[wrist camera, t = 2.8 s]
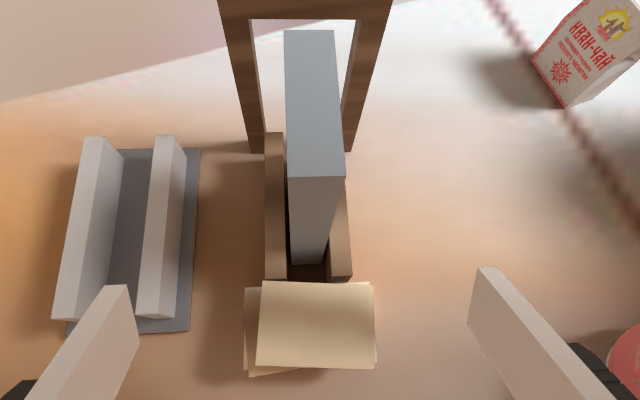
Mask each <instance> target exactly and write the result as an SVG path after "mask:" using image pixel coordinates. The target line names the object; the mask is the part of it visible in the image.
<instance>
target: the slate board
mask: <svg viewBox="0 0 640 400" xmlns="http://www.w3.org/2000/svg"><path fill="white" fill-rule="evenodd" d="M284 67H285V105H286V143H287V179H288V200H289V220H290V241H291V261H292V265H294V264H317V263H321V261H322V257H323V254H324V251H325V247H326V244H327V240H328V237H329V233H330V230H331V226H332V223H333V220H334V216H335V213H336V209H337V206H338V202H339V199H340V195H341V192H342V189H343V185H344V182H345V178H346V167H345V156H344V144H343V132H342V121H341V109H340V98H339V86H338V74H337V63H336V51H335V39H334V30H284Z"/></svg>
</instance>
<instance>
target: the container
mask: <svg viewBox="0 0 640 400" xmlns="http://www.w3.org/2000/svg"><path fill="white" fill-rule="evenodd" d="M606 366H607V367H608V369H609V371H610V372H612V373H613V374H614V375H615V376H616V377H617V378H618V379H619V380H620V383H621V384H624V385H625V386H626V387H627V388H628V389H629V390H630V391H631V393H632V394H633V395H634V396H635V397H636V398H637V399H638V400H640V322H639V323H637V324H636V325H634V326H632V327H631V328H629V329H628V330H627V331H625V332H624V333H623V334H622V335H621V336H620V337H619V338H618V339H617V340H616V342H615V344H614V345H613V346H612V347H611V349H610V351H609V353H608V355H607V359H606Z"/></svg>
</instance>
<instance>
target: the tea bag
mask: <svg viewBox="0 0 640 400" xmlns="http://www.w3.org/2000/svg"><path fill="white" fill-rule="evenodd" d="M639 59H640V6H639V5H638V4H637V3H636V2H635V0H584V1H582V2H581V3H580V4H579V5H578V6H577V7H576V8H575V9H573V10H572V11H571V12H570V13H569V14H568V15H567V16H565V17H564V19H563V20H562V21H561V22H560V23H559V25H558V26H557V27H556V28H555V30H554V31H553V32H552V33H551V35H550V36H549V37H548V38H547V40H546V41H545V42H544V43H543V45H542V46H541V47H540V48H539V49H538V51H537V52H536V53H535V54H534V56H533V57H532V58H531V59H530V61H531V62H532V64H533V65H534V67H535V68H536V69H537V71H538V72H539V74H540V75H541V77H542V78H543V79H544V81H545V82H546V84H547V85H548V86H549V88H550V89H551V91H552V92H553V94H554V95H555V96H556V98H557V99H558V101H559V102H560V103H561V105H562V106H563V108H564V109H566V108H569V107H572V106H575V105H577V104H580V103H583V102H586V101H589V100H592V99H593V98H595V97H596V96H597V95H598V94H599V93H601V92H602V91H603V90H604V89H605V88H606V87H608V86H609V85H610V84H611V83H612V82H614V81H615V80H616V79H617V78H618V77H619V76H621V75H622V74H623V73H624V72H625V71H627V70H628V69H629V68H630V67H631V66H633V65H634V64H635V63H636V62H637V61H638V60H639Z"/></svg>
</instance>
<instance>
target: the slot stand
mask: <svg viewBox="0 0 640 400" xmlns="http://www.w3.org/2000/svg"><path fill="white" fill-rule="evenodd" d="M200 158H201V151H200V149H199V148H181V146H180V144H179V143H178V141H177V139H176V137H175V136H174V135H155V142H154V149H115V148H114V147H113V146H112V145H111V143H110V142H109V141H108V140H107V139H106V138H105V137H104V136H85V137H84V142H83V147H82V153H81V158H80V163H79V169H78V174H77V179H76V185H75V190H74V195H73V201H72V206H71V212H70V217H69V222H68V228H67V233H66V238H65V244H64V249H63V254H62V260H61V265H60V270H59V276H58V281H57V286H56V292H55V297H54V302H53V308H52V313H51V318H50V319H55V320H63V321H68V324H67V330H66V335H65V337H68V336H69V335H70V334H71V332H72V331H73V329H74V328H75V327H76V325H77V324H78V322H79V321H80V319H81V318H82V317H83V315H84V314H85V312H86V311H87V309H88V308H89V307H90V305H91V304H92V302H93V301H94V300H95V298H96V297H97V295H98V294H99V292H100V291H101V290H102V288H103V287H104V285H123V284H127V288H128V292H129V297H130V301H131V305H132V309H133V313H134V317H135V321H136V325H137V330H138V334H147V333H166V332H185V331H190V316H191V300H192V285H193V269H194V253H195V237H196V221H197V205H198V190H199V174H200Z"/></svg>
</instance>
